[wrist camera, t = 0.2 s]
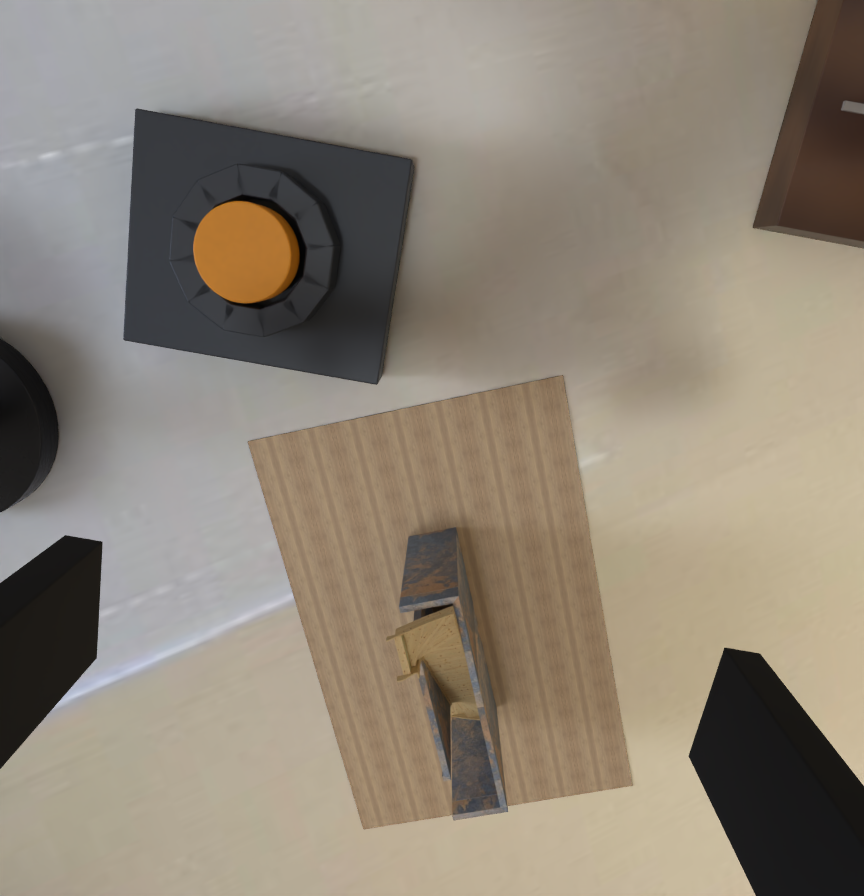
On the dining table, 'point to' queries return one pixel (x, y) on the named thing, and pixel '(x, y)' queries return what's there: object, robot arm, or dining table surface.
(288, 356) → the switch box
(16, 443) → the desk lamp
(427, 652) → the architectural model on board
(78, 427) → the dining table surface
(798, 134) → the dimmer panel
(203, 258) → the button
